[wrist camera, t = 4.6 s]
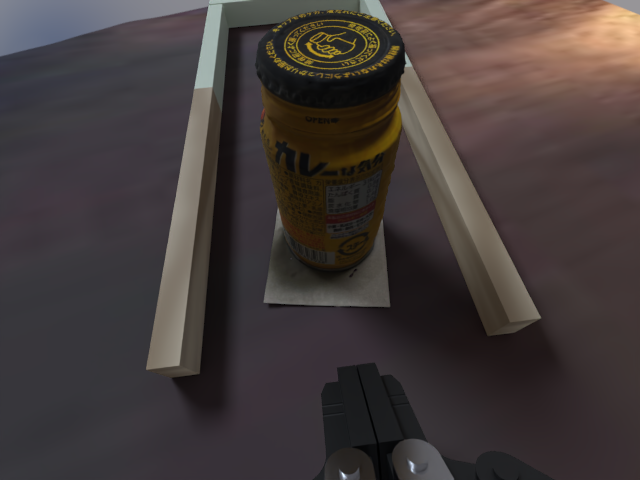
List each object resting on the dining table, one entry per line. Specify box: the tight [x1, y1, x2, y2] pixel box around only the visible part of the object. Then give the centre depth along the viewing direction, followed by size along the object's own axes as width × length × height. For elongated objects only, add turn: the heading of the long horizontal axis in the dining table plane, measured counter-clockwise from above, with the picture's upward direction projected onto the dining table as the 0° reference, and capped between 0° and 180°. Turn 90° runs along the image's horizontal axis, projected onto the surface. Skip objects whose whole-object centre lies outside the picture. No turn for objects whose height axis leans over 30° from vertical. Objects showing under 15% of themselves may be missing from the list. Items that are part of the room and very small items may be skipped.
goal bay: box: [194, 0, 412, 113], centre depth 32 cm, size 18×18×2 cm
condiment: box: [255, 10, 407, 307], centre depth 15 cm, size 7×8×12 cm
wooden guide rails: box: [146, 66, 541, 378], centre depth 21 cm, size 18×22×2 cm
